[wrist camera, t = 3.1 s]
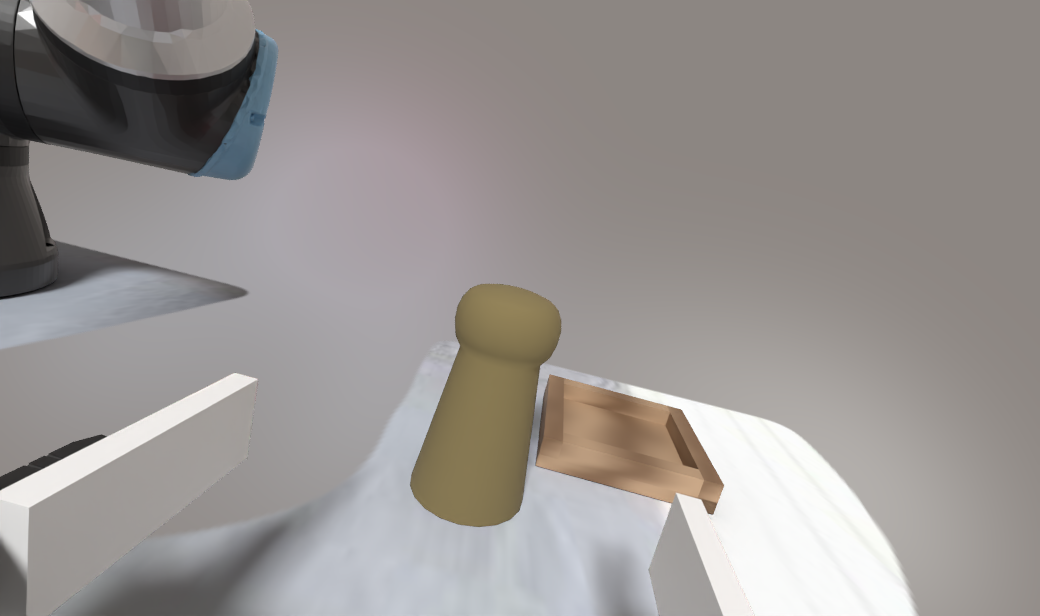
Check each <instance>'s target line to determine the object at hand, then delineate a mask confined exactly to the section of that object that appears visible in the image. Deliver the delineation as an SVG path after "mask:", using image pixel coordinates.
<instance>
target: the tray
mask: <svg viewBox="0 0 1040 616" xmlns="http://www.w3.org/2000/svg"><path fill="white" fill-rule="evenodd" d="M536 466H539V467H542V468H546V469H550V470H553V471H557V472H561V473H564V474H568V475H572V476H575V477H579V478H582V479H586V480H590V481H593V482H597V483H601V484H604V485H608V486H612V487H615V488H619V489H622V490H626V491H630V492H633V493H637V494H641V495H644V496H648V497H652V498H655V499H659V500H662V501H666V502H670V503H673V500H674V497H675V494H676V493H679V494H682V495H686V496H690V497H694V498H697V499H701V500H702V502H703V504H704V507H705V509H706V511H707V513H710V514H713V513H714V511H715V508H716V505H717V503H718V500H719V498H720V495H721V492H722V490H723V487H724V485H723V483H722V481H721V479H720V477H719V476H718V474H717V472H716V470H715V468H714V467H713V465H712V463H711V461H710V460H709V458H708V456H707V454H706V452H705V451H704V449H703V447H702V445H701V444H700V442H699V440H698V438H697V436H696V435H695V433H694V431H693V429H692V427H691V426H690V424H689V422H688V420H687V419H686V417H685V415H684V413H683V411H682V410H681V409H677V408H673V407H669V406H666V405H662V404H658V403H654V402H651V401H647V400H643V399H640V398H636V397H632V396H628V395H625V394H621V393H617V392H613V391H610V390H606V389H602V388H598V387H595V386H591V385H587V384H583V383H580V382H576V381H572V380H569V379H565V378H561V377H557V376H554V375H549V379H548V382H547V386H546V390H545V393H544V397H543V406H542V414H541V423H540V431H539V440H538V449H537V457H536Z"/></svg>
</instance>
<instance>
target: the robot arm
mask: <svg viewBox="0 0 1040 616" xmlns="http://www.w3.org/2000/svg"><path fill="white" fill-rule="evenodd" d="M277 58H278V46H277V44H276V42H275V41H274V40H273V39H272V38H270V37H269V36H266V35H265V34H264V33H263V32H262V31H259V30H257V29H255V22H254V16H253V11H252V9H251V6H250V4H249V2H248V0H0V297H1V296H8V295H14V294H19V293H24V292H28V291H32V290H36V289H39V288H42V287H45V286H47V285H49V284H51V283H52V282H54V281H55V280H56V278H57V275H58V250H57V246H56V244H55V242H54V240H53V239H51V237H50V234H49V230H48V226H47V223H46V220H45V217H44V214H43V212H42V209H41V206H40V204H39V202H38V199H37V196H36V194H35V191H34V189H33V186H32V184H31V181H30V177H29V143H30V141H35V142H40V143H45V144H49V145H56V146H61V147H65V148H70V149H75V150H80V151H85V152H90V153H94V154H99V155H103V156H108V157H113V158H117V159H122V160H126V161H131V162H135V163H140V164H145V165H150V166H154V167H159V168H163V169H168V170H172V171H177V172H181V173H186V174H188V175H190V176H194V177H200V176H208V177H214V178H220V179H227V180H237V179H241V178H243V177H245V176H246V175H248V173H249V172H250V171H251V170H252V167H253V165H254V162H255V159H256V156H257V152H258V148H259V145H260V140H261V136H262V132H263V127H264V119H265V118H266V113H267V109H268V106H269V102H270V97H271V92H272V87H273V82H274V77H275V71H276V65H277ZM257 384H258V379H256V378H252V377H248V376H245V375H241V374H238V373H233V374H231V375H229V376H227V377H225V378H223V379H221V380H219V381H217V382H215V383H213V384H211V385H209V386H207V387H205V388H203V389H201V390H199V391H197V392H195V393H193V394H191V395H189V396H187V397H185V398H183V399H181V400H180V401H177V402H175V403H173V404H171V405H169V406H168V407H165V408H163V409H161V410H159V411H157V412H155V413H154V414H151V415H149V416H147V417H146V418H143V419H142V420H139V421H138V422H135V423H134V424H131V425H129V426H128V427H126V428H124V429H122V430H120V431H118V432H116V433H114V434H112V435H110V436H104V435H98V436H94V437H91V438H87V439H83V440H79V441H76V442H72V443H70V444H68V445H66V446H64V447H62V448H60V449H58V450H55V451H53V452H51V453H49V455H48V456H43V457H41V458H39V459H37V460H35V461H33V462H31V463H29V465H28V466H22V467H20V468H18V469H16V470H14V471H12V472H9V473H8V474H5V475H3V476H1V477H0V616H48V615H50V614H51V613H52V612H54V611H55V610H56V609H57V608H59V607H60V606H61V605H62V604H64V603H65V602H66V601H67V600H69V599H70V598H71V597H72V596H74V595H75V594H76V593H78V592H79V591H80V590H81V589H83V588H84V587H85V586H86V585H88V584H89V583H90V582H91V581H93V580H94V579H95V578H97V577H98V576H99V575H100V574H102V573H103V572H104V571H105V570H107V569H108V568H109V567H110V566H112V565H113V564H114V563H115V562H117V561H118V560H119V559H121V558H122V557H123V556H124V555H126V554H127V553H128V552H129V551H131V550H132V549H133V548H134V547H136V546H137V545H138V544H140V543H141V542H142V541H143V540H145V539H146V538H147V537H148V536H150V535H151V534H152V533H153V532H155V531H156V530H157V529H158V528H160V527H161V526H162V525H164V524H165V523H166V522H167V521H169V520H170V519H171V518H172V517H174V516H175V515H176V514H177V513H179V512H180V511H181V510H182V509H184V508H185V507H186V506H188V505H189V504H190V503H191V502H193V501H194V500H195V499H196V498H198V497H199V496H200V495H201V494H203V493H204V492H205V491H206V490H208V489H209V488H210V487H211V486H213V485H214V484H215V483H217V482H218V481H219V480H220V479H222V478H223V477H224V476H225V475H227V474H228V473H229V472H231V471H232V470H233V469H234V468H236V467H237V466H238V465H239V464H241V463H242V462H243V461H244V460H246V459H247V458H248V452H249V444H250V437H251V429H252V421H253V414H254V407H255V399H256V392H257ZM649 573H650V578H651V582H652V587H653V591H654V595H655V600H656V604H657V609H658V613H659V616H755V615H754V613H753V611H752V608H751V606H750V604H749V602H748V600H747V598H746V595H745V593H744V591H743V589H742V587H741V585H740V582H739V580H738V578H737V576H736V574H735V572H734V569H733V567H732V565H731V563H730V561H729V559H728V556H727V554H726V552H725V550H724V548H723V546H722V543H721V541H720V539H719V537H718V535H717V533H716V530H715V528H714V526H713V524H712V522H711V520H710V517H709V515H708V513H707V511H706V509H705V507H704V504H703V502H702V500H701V499H697V498H694V497H690V496H686V495H682V494H679V493H676V494H675V497H674V500H673V503H672V505H671V508H670V511H669V514H668V517H667V520H666V522H665V525H664V528H663V531H662V534H661V536H660V539H659V542H658V545H657V548H656V551H655V553H654V556H653V559H652V562H651V565H650V567H649Z"/></svg>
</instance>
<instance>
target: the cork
mask: <svg viewBox="0 0 1040 616" xmlns="http://www.w3.org/2000/svg"><path fill="white" fill-rule="evenodd" d="M455 329H456V337H457V339H458V342H459V344H460V348H459V351H458V353H457V356H456V358H455V361H454V364H453V366H452V369H451V372H450V374H449V377H448V380H447V382H446V385H445V388H444V390H443V393H442V395H441V398H440V401H439V403H438V406H437V409H436V411H435V414H434V417H433V419H432V422H431V424H430V427H429V430H428V432H427V435H426V438H425V440H424V443H423V446H422V448H421V451H420V454H419V456H418V459H417V461H416V464H415V467H414V469H413V472H412V475H411V482H410V486H411V489H412V492H413V494H414V497H415V498H416V499H417V500H418V501H419V502H420V504H421V505H422V506H423V507H424V508H425V509H427V510H428V511H430V512H432V513H433V514H435V515H436V516H438V517H440V518H442V519H445V520H448V521H451V522H453V523H456V524H460V525H468V526H476V527H482V526H491V525H498V524H500V523H503V522H505V521H507V520H510V519H511V518H512V517H513V516H514V515H515V514H516V513H517V512H518V511H519V510H520V506H521V503H522V499H523V492H524V484H525V476H526V469H527V461H528V454H529V446H530V439H531V431H532V423H533V416H534V408H535V401H536V393H537V385H538V378H539V370H540V365H542V364H543V363H544V362H545V361H547V360H548V359H549V358H550V357H551V355H552V353H553V351H554V350H555V348H556V346H557V343H558V340H559V337H560V334H561V319H560V315H559V311H558V310H557V308H556V307H555V306H554V305H553V304H552V303H551V302H550V301H549V300H547V299H546V298H544V297H541V296H539V295H538V294H536V293H533V292H531V291H528V290H525V289H522V288H519V287H514V286H510V285H503V284H480V285H477V286H474V287H472V288H470V289H469V290H468V292H466V294H465V295H464V296H463V297H462V299H461V301H460V303H459V305H458V307H457V312H456V316H455Z"/></svg>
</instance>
